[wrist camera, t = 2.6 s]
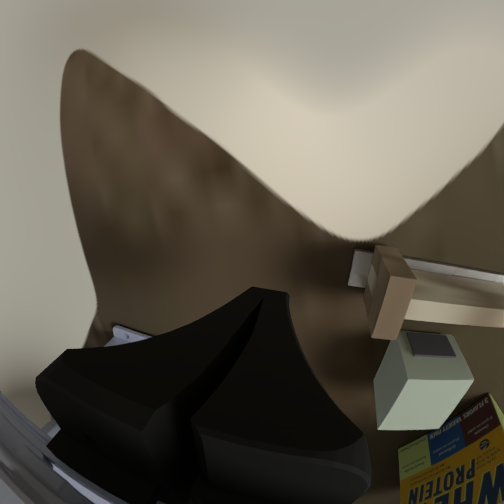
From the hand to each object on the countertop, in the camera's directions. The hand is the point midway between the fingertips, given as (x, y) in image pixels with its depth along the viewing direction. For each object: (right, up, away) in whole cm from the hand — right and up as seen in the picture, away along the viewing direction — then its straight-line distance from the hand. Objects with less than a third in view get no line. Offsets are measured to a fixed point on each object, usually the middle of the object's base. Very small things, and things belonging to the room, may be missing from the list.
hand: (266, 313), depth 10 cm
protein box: (+22, -18, +8) cm, 29 cm away
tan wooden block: (+12, 0, +3) cm, 12 cm away
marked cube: (+10, -5, +6) cm, 13 cm away
